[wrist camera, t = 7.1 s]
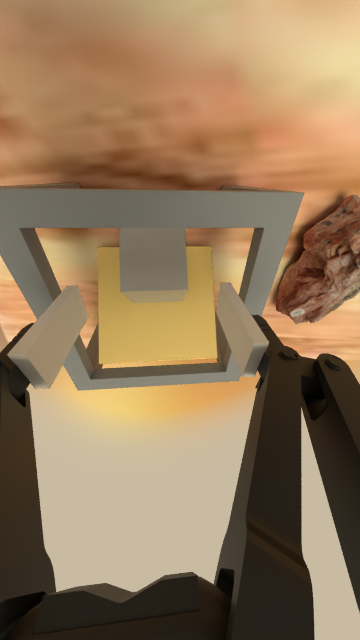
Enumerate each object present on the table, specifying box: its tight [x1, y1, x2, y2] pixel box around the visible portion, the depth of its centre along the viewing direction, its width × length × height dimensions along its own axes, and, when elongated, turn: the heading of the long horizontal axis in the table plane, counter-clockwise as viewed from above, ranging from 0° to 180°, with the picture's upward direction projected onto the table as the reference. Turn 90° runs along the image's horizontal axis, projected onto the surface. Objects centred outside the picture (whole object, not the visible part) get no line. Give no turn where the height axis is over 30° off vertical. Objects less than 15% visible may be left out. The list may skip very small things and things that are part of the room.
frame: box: [0, 183, 304, 390], centre depth 22 cm, size 20×20×12 cm
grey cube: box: [119, 228, 188, 303], centre depth 20 cm, size 6×6×6 cm
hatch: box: [98, 246, 217, 364], centre depth 23 cm, size 14×14×1 cm
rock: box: [276, 195, 360, 324], centre depth 24 cm, size 16×11×15 cm
